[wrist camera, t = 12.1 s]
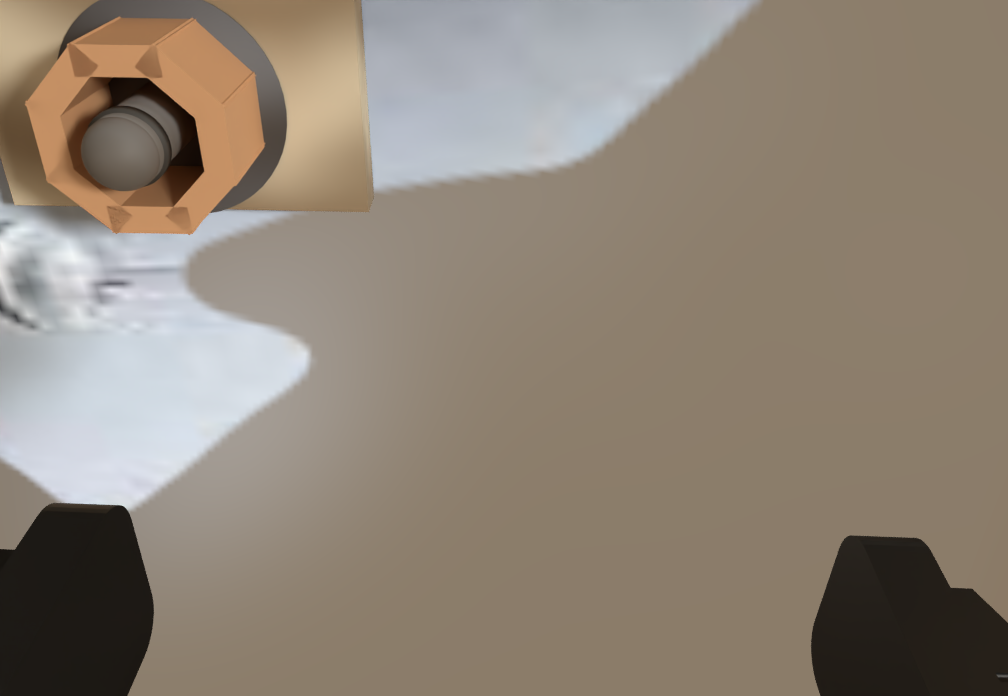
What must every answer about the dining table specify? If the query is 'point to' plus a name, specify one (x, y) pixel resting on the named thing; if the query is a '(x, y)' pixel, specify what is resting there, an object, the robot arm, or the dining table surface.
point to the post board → (305, 73)
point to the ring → (182, 76)
